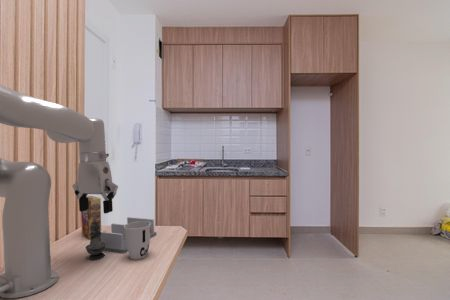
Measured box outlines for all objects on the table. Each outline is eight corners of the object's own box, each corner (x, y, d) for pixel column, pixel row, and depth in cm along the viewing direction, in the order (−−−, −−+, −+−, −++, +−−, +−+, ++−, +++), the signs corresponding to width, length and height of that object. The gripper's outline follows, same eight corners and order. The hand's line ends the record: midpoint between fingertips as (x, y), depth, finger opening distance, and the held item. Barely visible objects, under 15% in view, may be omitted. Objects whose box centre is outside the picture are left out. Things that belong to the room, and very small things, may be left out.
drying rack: (124, 253, 89) (123, 235, 89) (91, 248, 93) (90, 231, 93) (156, 234, 106) (156, 219, 106) (126, 231, 111) (126, 217, 111)
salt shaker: (85, 262, 83) (83, 223, 82) (86, 255, 88) (85, 218, 88) (106, 258, 85) (105, 220, 85) (106, 251, 91) (104, 215, 90)
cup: (143, 262, 82) (142, 229, 81) (119, 260, 83) (118, 228, 83) (156, 251, 89) (155, 221, 89) (133, 250, 91) (132, 220, 91)
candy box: (102, 236, 105) (101, 197, 105) (91, 240, 102) (89, 199, 101) (92, 232, 111) (91, 195, 110) (81, 235, 108) (79, 197, 107)
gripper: (123, 156, 87) (126, 209, 87) (81, 157, 92) (84, 207, 93) (106, 158, 79) (109, 216, 80) (62, 159, 85) (65, 213, 86)
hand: (96, 211), depth 87 cm, fingers open, 9 cm apart
